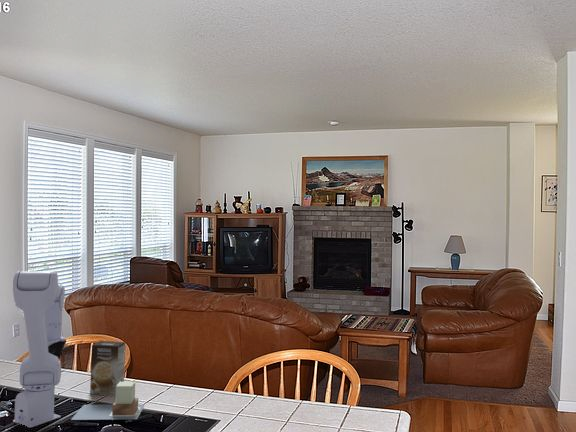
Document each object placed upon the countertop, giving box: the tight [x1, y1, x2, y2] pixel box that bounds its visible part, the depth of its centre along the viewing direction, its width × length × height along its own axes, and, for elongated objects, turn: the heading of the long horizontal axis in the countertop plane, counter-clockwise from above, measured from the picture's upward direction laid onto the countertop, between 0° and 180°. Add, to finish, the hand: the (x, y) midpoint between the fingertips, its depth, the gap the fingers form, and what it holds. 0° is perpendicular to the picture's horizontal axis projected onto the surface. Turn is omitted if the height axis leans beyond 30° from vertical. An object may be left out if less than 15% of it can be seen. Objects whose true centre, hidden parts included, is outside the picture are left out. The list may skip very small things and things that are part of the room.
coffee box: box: [89, 340, 126, 396], centre depth 169 cm, size 9×6×16 cm
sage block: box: [114, 381, 136, 404], centre depth 151 cm, size 4×4×5 cm
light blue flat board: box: [70, 403, 146, 421], centre depth 151 cm, size 18×12×1 cm, turn 95°
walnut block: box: [112, 397, 139, 415], centre depth 151 cm, size 6×6×3 cm
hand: (50, 367), depth 159 cm, fingers open, 7 cm apart
